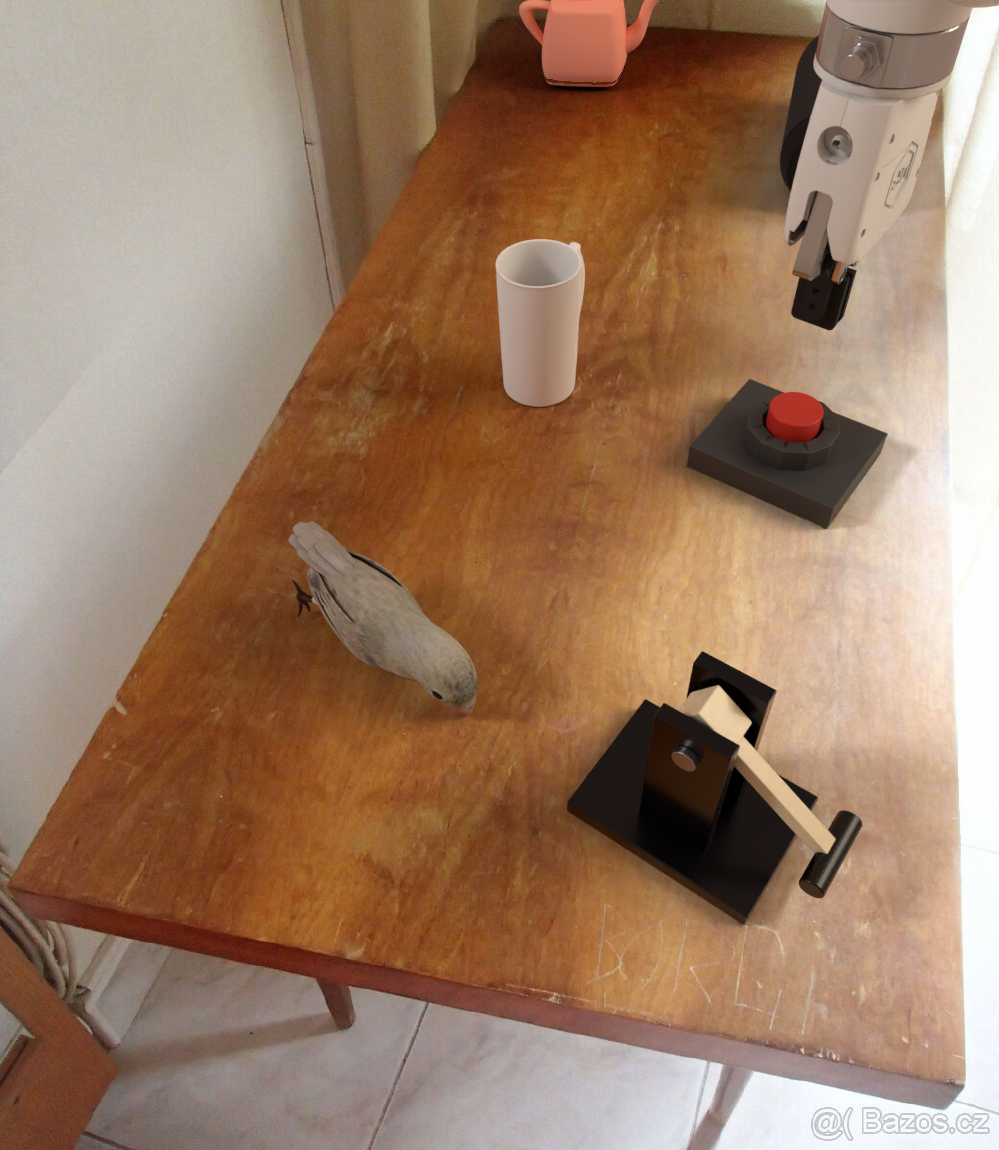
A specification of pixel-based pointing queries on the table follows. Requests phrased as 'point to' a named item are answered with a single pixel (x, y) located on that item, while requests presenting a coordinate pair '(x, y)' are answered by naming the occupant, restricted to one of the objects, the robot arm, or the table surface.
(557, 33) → the teapot
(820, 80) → the portable speaker
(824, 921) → the table surface
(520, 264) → the mug
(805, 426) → the red button
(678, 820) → the lever stand
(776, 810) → the lever handle
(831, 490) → the control block
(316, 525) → the decorative bird
